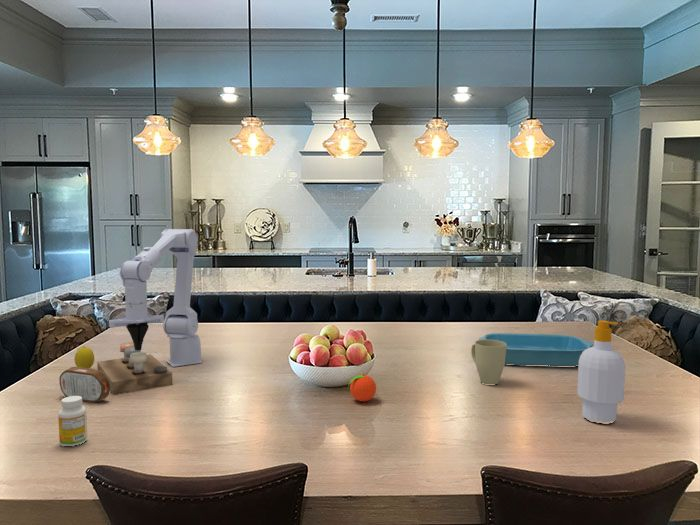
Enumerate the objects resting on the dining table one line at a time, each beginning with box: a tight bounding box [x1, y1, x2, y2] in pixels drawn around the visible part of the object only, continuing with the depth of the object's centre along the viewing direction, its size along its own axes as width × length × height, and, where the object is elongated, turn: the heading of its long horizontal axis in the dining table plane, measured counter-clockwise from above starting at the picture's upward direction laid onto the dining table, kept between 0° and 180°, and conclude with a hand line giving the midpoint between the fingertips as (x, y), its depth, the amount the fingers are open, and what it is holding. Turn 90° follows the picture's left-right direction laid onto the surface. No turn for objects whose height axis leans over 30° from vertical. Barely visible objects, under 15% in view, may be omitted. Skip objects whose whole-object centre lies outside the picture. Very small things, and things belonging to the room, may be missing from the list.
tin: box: [59, 366, 111, 403], centre depth 145 cm, size 15×3×8 cm, turn 71°
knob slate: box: [125, 347, 142, 367], centre depth 163 cm, size 4×4×5 cm
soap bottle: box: [576, 319, 626, 422], centre depth 132 cm, size 10×10×24 cm
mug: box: [470, 339, 507, 385], centre depth 161 cm, size 11×10×12 cm
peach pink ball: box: [119, 341, 134, 362], centre depth 169 cm, size 4×4×5 cm
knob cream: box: [130, 351, 147, 373], centre depth 157 cm, size 4×4×5 cm
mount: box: [96, 353, 173, 395], centre depth 163 cm, size 16×24×5 cm, turn 34°
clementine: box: [347, 374, 377, 403], centre depth 145 cm, size 8×7×7 cm
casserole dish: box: [478, 332, 594, 366], centre depth 185 cm, size 37×22×7 cm, turn 82°
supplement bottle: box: [57, 396, 88, 447], centre depth 118 cm, size 5×5×10 cm
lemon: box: [74, 345, 95, 369], centre depth 170 cm, size 6×6×8 cm
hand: (138, 349), depth 157 cm, fingers closed
